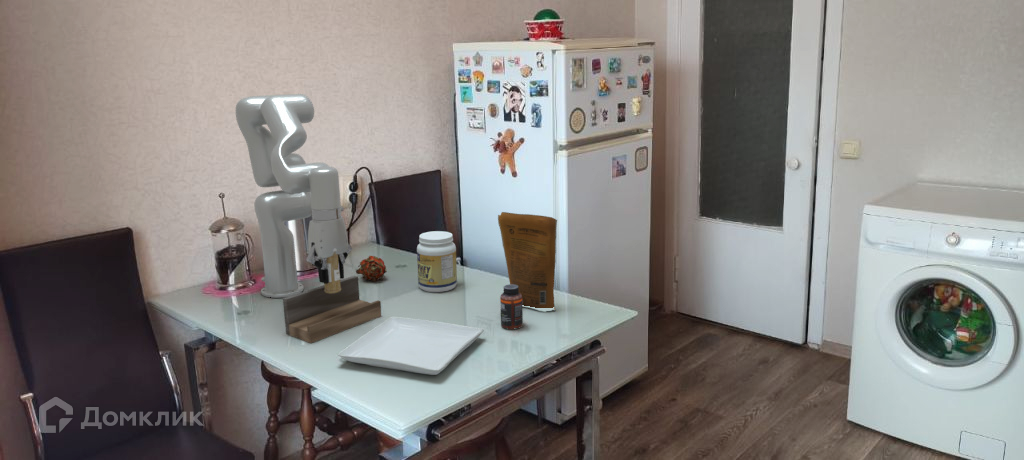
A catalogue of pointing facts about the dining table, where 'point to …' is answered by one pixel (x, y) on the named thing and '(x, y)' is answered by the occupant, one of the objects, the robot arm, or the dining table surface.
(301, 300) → the spice rack
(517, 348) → the dining table surface
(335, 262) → the sprinkles bottle
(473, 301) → the dining table surface
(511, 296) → the supplement bottle
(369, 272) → the dragon fruit
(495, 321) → the dining table surface
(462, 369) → the dining table surface
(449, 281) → the supplement tub
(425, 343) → the square plate
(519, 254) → the pancake mix bag
